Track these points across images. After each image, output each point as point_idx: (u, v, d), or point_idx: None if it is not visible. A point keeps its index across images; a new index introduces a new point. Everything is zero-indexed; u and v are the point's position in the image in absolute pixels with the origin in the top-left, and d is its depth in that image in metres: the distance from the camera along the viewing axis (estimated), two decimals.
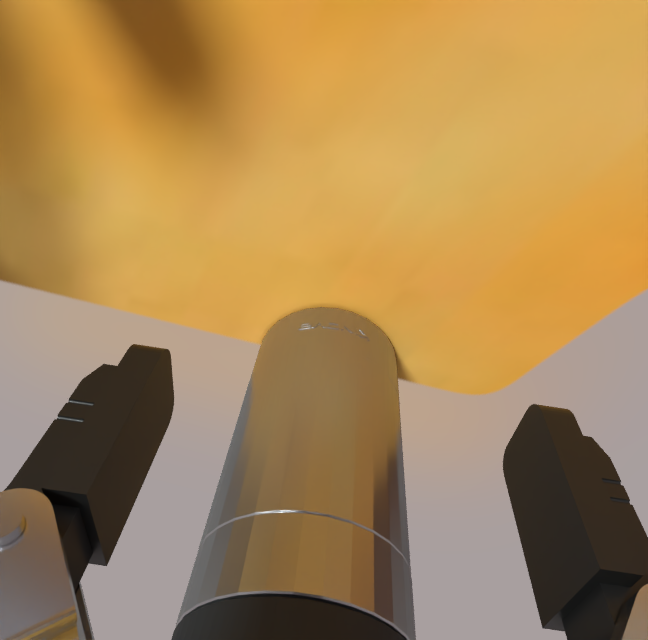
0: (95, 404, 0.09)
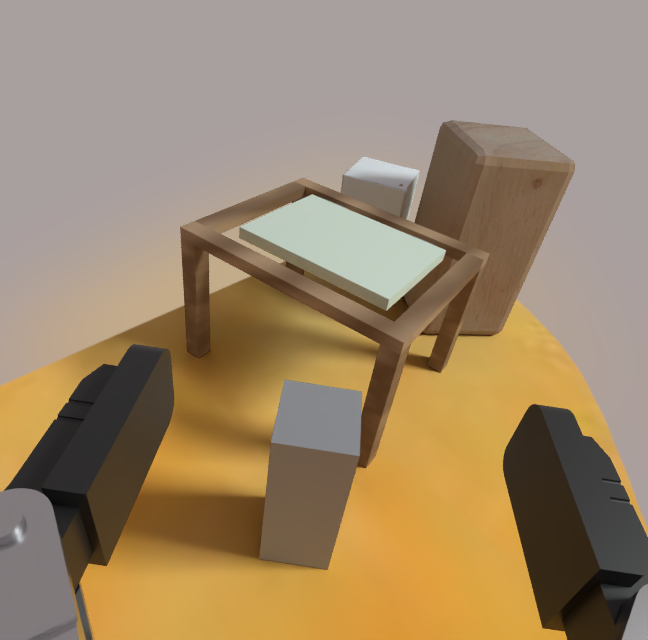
0: (95, 404, 0.09)
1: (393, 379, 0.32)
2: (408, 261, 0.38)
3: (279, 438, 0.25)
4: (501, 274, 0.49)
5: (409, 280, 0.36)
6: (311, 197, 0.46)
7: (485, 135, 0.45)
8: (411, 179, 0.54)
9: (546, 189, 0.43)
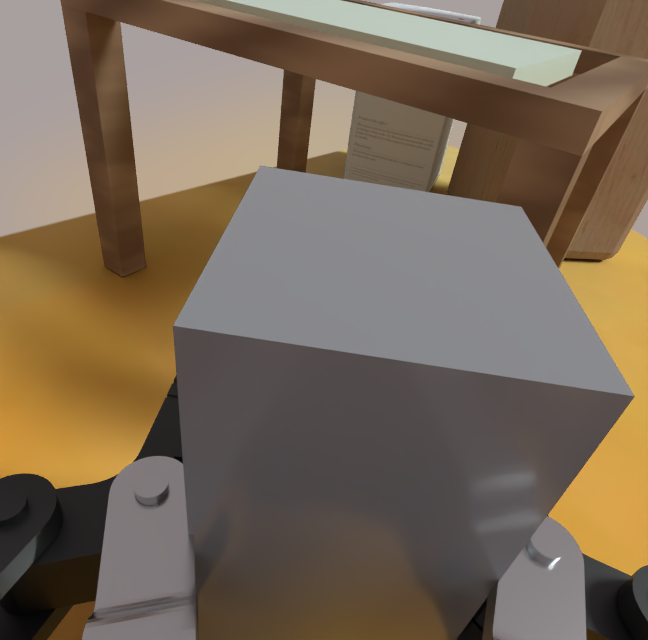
0: None
1: (543, 242, 0.13)
2: (522, 48, 0.19)
3: (219, 312, 0.05)
4: (637, 145, 0.29)
5: (541, 59, 0.17)
6: None
7: None
8: (473, 18, 0.35)
9: None
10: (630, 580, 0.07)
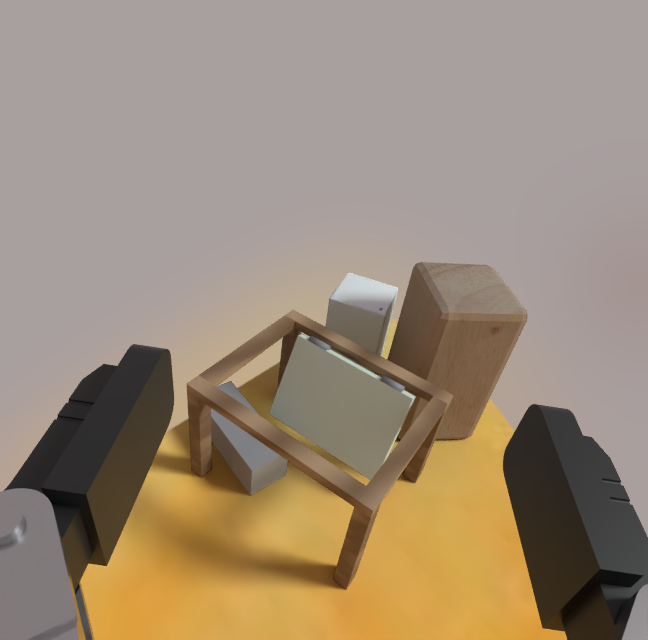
0: (95, 404, 0.09)
1: (366, 532, 0.39)
2: (383, 428, 0.49)
3: None
4: (468, 396, 0.55)
5: (385, 455, 0.49)
6: (298, 341, 0.53)
7: (451, 283, 0.51)
8: (390, 300, 0.61)
9: (503, 334, 0.50)
10: None
